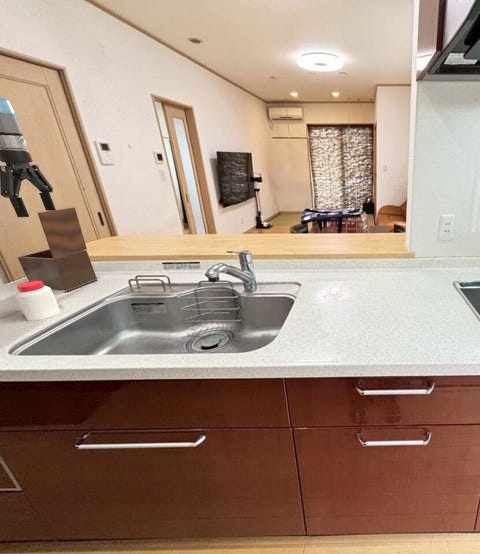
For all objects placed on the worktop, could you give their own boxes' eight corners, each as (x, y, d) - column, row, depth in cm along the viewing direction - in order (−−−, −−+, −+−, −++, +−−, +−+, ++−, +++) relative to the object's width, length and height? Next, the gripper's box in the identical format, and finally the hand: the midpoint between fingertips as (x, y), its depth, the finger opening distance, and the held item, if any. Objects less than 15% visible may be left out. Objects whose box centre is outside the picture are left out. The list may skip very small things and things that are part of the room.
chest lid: (37, 212, 100) (39, 212, 100) (73, 207, 111) (75, 207, 111) (52, 258, 106) (54, 258, 106) (85, 248, 117) (87, 249, 117)
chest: (32, 290, 113) (17, 257, 108) (64, 278, 124) (52, 248, 119) (68, 292, 112) (54, 259, 107) (97, 280, 122) (86, 250, 117)
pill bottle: (26, 314, 96) (11, 284, 92) (59, 306, 101) (46, 277, 97) (26, 323, 91) (10, 291, 87) (61, 314, 96) (47, 283, 92)
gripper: (-5, 149, 89) (24, 219, 97) (51, 150, 111) (72, 207, 119) (-38, 148, 87) (-5, 220, 95) (26, 150, 109) (49, 208, 117)
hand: (38, 213), depth 107 cm, fingers open, 13 cm apart
